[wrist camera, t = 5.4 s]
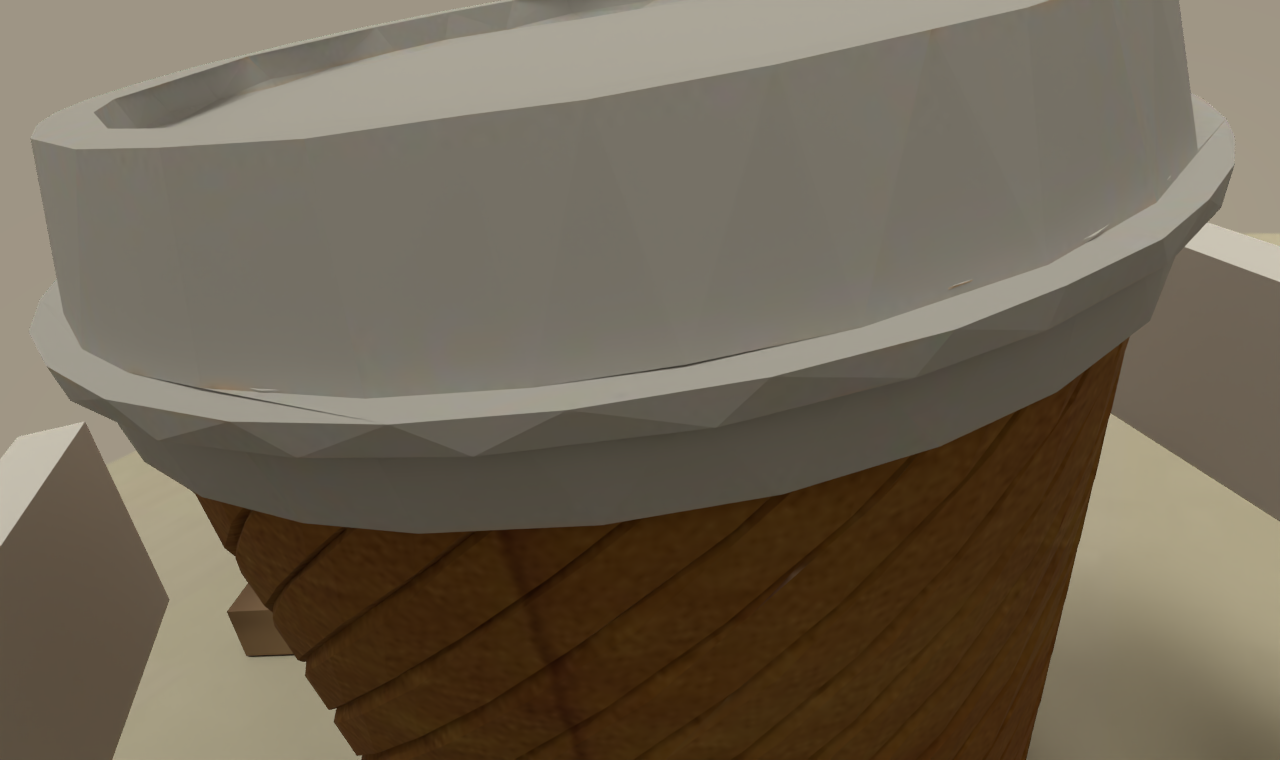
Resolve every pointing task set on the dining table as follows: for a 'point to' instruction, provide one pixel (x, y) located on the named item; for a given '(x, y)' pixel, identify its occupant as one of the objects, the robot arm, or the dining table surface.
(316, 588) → the disposable coffee cup
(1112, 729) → the dining table surface
